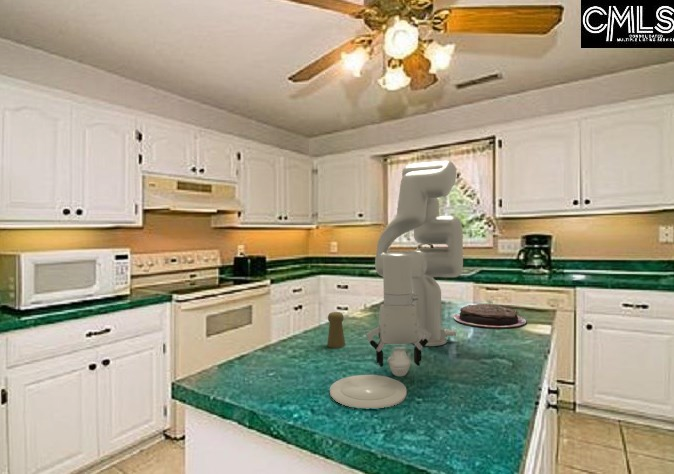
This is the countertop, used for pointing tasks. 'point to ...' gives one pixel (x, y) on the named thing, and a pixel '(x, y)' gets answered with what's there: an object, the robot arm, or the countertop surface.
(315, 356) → the countertop surface
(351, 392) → the plate
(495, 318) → the chocolate cake
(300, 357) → the countertop surface
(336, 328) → the cork
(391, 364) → the muffin
